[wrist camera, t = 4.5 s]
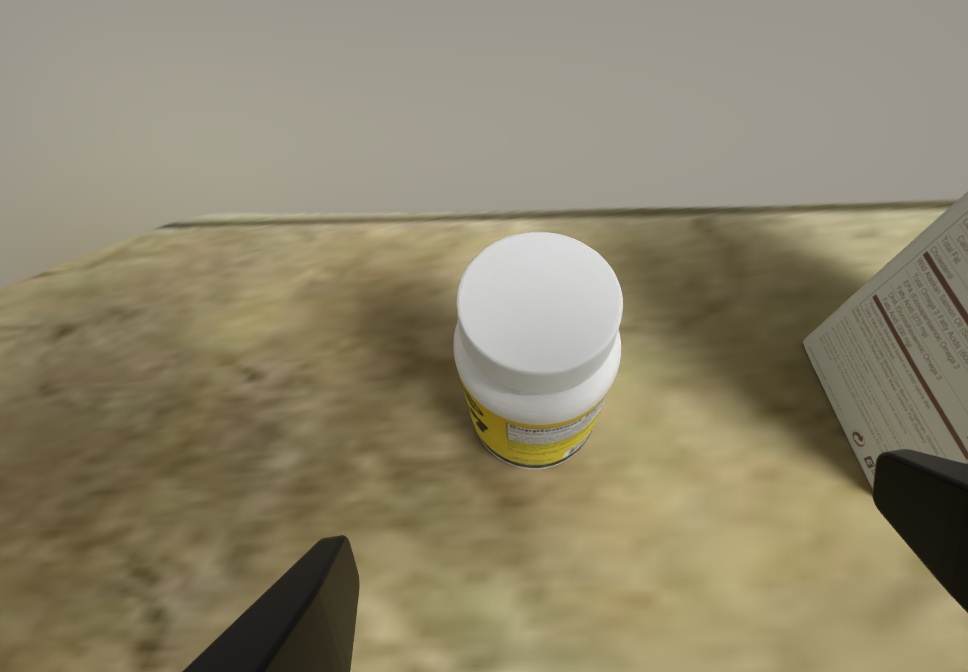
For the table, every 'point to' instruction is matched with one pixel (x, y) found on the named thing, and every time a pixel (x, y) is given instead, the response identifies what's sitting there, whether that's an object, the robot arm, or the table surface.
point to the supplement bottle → (537, 345)
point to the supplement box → (903, 350)
